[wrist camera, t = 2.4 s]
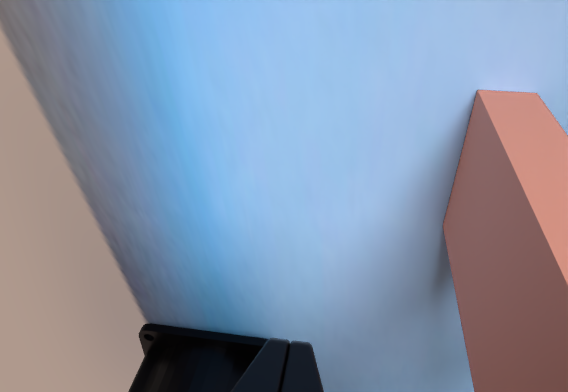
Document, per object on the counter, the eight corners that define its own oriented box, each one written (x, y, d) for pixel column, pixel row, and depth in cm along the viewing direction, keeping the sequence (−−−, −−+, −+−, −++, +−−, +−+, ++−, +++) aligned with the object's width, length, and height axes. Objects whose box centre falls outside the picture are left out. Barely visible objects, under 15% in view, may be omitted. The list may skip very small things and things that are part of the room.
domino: (442, 225, 16) (512, 590, 8) (477, 89, 13) (642, 449, 5) (490, 230, 16) (612, 609, 8) (536, 93, 13) (810, 473, 5)
